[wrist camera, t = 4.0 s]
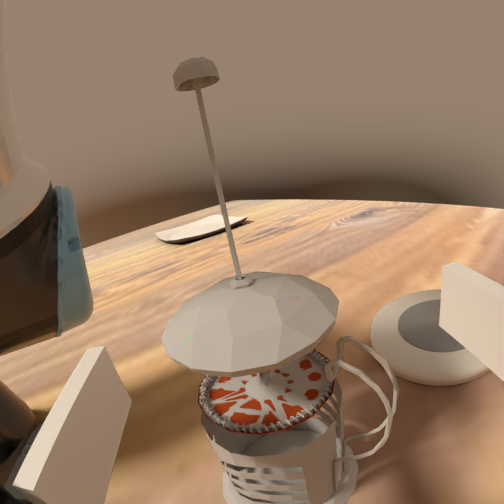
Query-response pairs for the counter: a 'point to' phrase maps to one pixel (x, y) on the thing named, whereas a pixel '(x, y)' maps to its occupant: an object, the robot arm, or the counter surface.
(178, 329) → the french press
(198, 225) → the plate
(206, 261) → the counter surface
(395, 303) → the disc
